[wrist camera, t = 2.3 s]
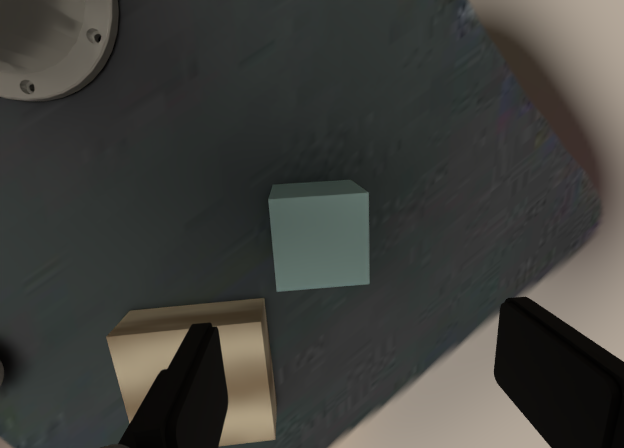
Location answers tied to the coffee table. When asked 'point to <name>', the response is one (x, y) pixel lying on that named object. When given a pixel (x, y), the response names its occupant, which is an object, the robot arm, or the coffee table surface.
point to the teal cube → (319, 234)
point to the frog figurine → (1, 373)
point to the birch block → (235, 351)
